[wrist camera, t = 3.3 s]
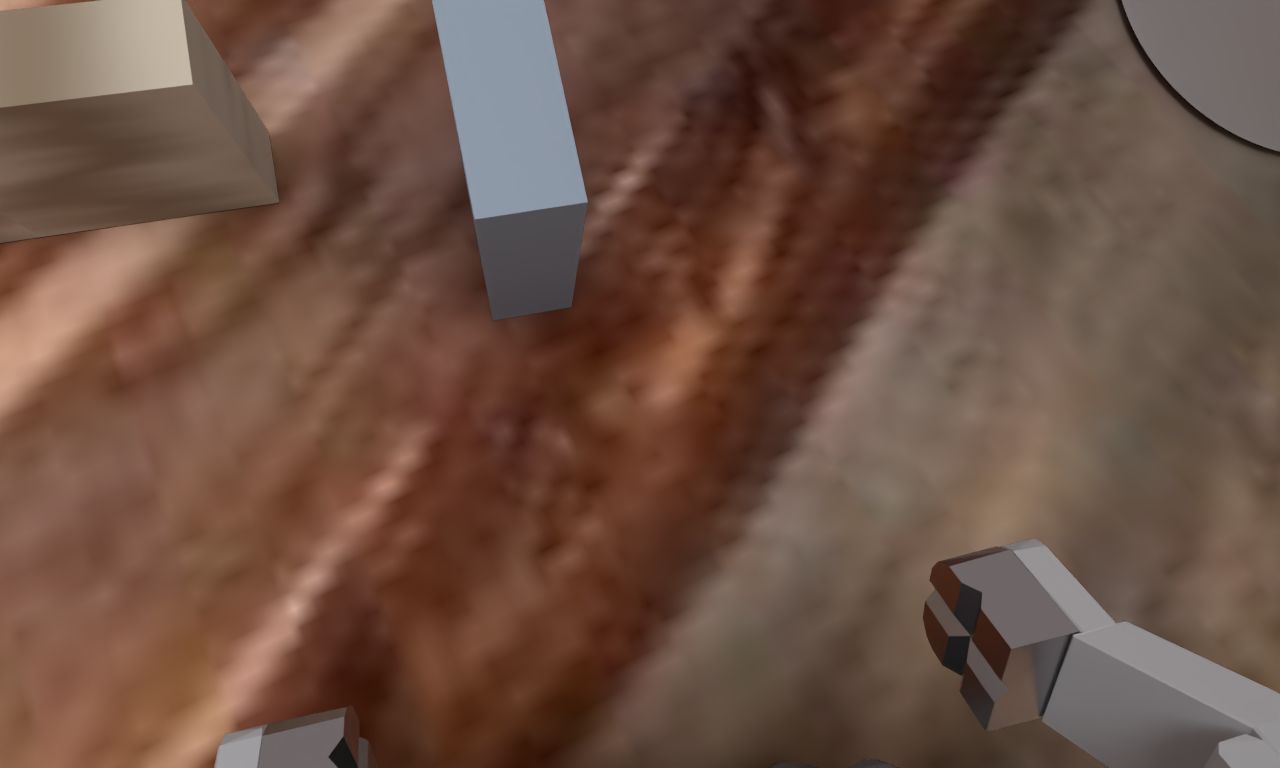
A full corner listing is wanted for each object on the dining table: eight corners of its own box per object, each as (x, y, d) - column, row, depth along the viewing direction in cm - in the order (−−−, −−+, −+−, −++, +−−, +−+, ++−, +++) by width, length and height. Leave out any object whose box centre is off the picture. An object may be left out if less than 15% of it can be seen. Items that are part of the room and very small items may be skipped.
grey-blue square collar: (462, 162, 28) (432, -2, 20) (538, 151, 28) (540, -14, 20) (492, 320, 27) (474, 219, 19) (571, 306, 27) (587, 202, 19)
